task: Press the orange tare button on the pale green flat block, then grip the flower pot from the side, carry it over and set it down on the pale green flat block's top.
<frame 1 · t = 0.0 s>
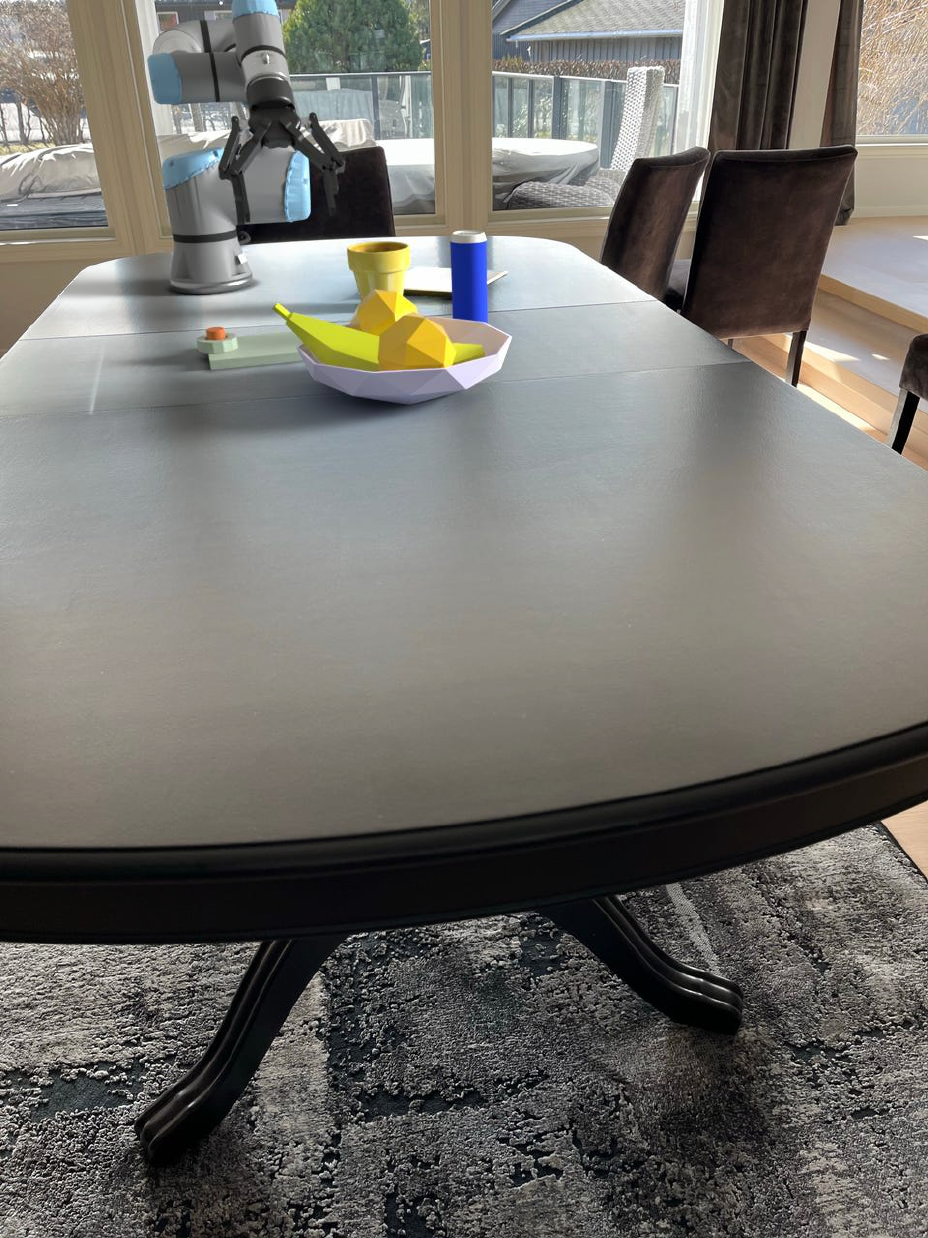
hand: (290, 214, 151), 15 cm above the table, tool tilted 35°, fingers open, 13 cm apart
tare button: (215, 334, 134), point 3 cm above the table, slide at 0.1 cm
beverage can: (470, 341, 140), on the table
pale green flat block: (265, 353, 137), on the table
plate: (443, 290, 171), on the table
flower pot: (382, 307, 161), on the table
fruit bowl: (399, 388, 121), on the table
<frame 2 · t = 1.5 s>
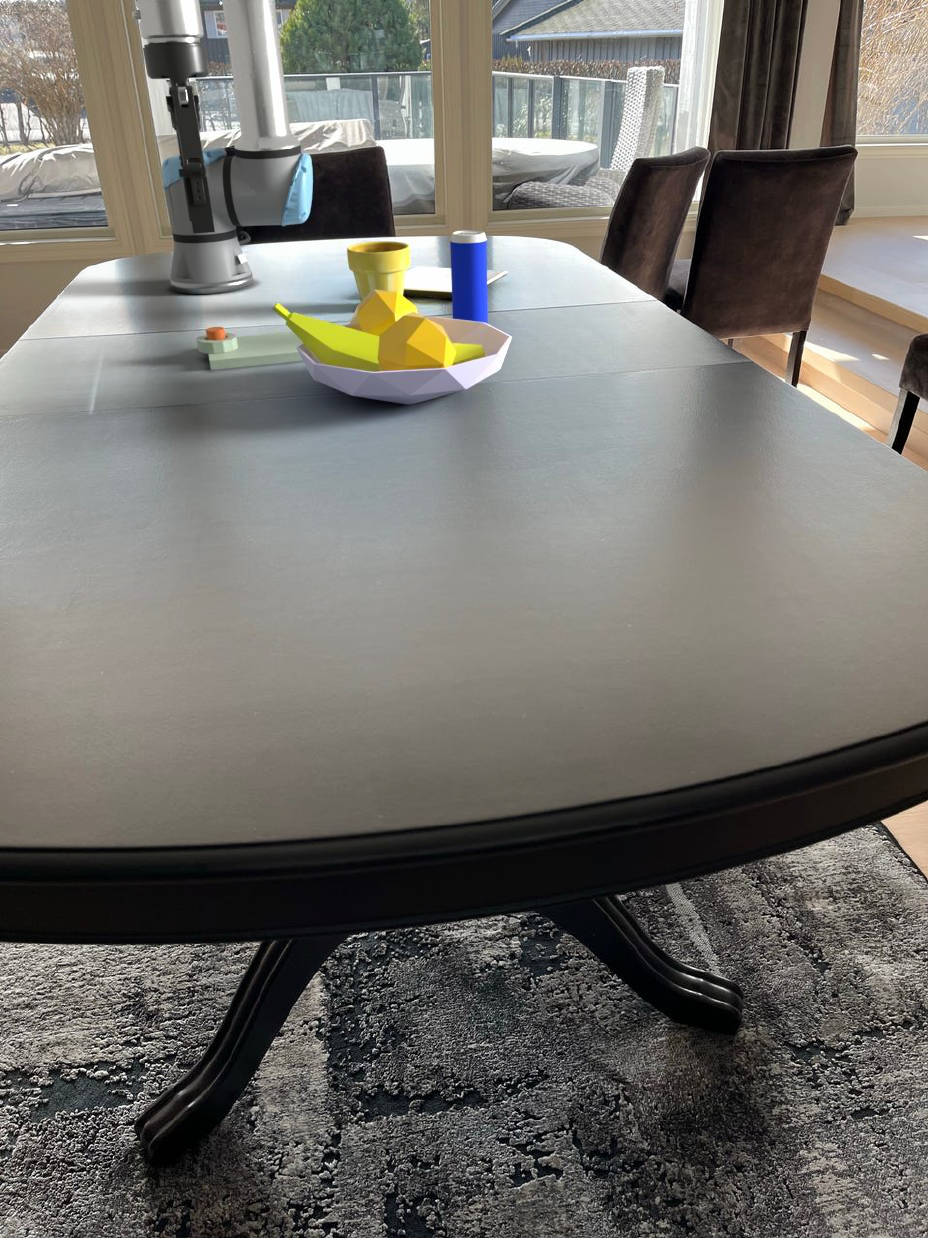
hand: (201, 226, 127), 18 cm above the table, tool pointing down, fingers open, 13 cm apart
nothing on the table moved.
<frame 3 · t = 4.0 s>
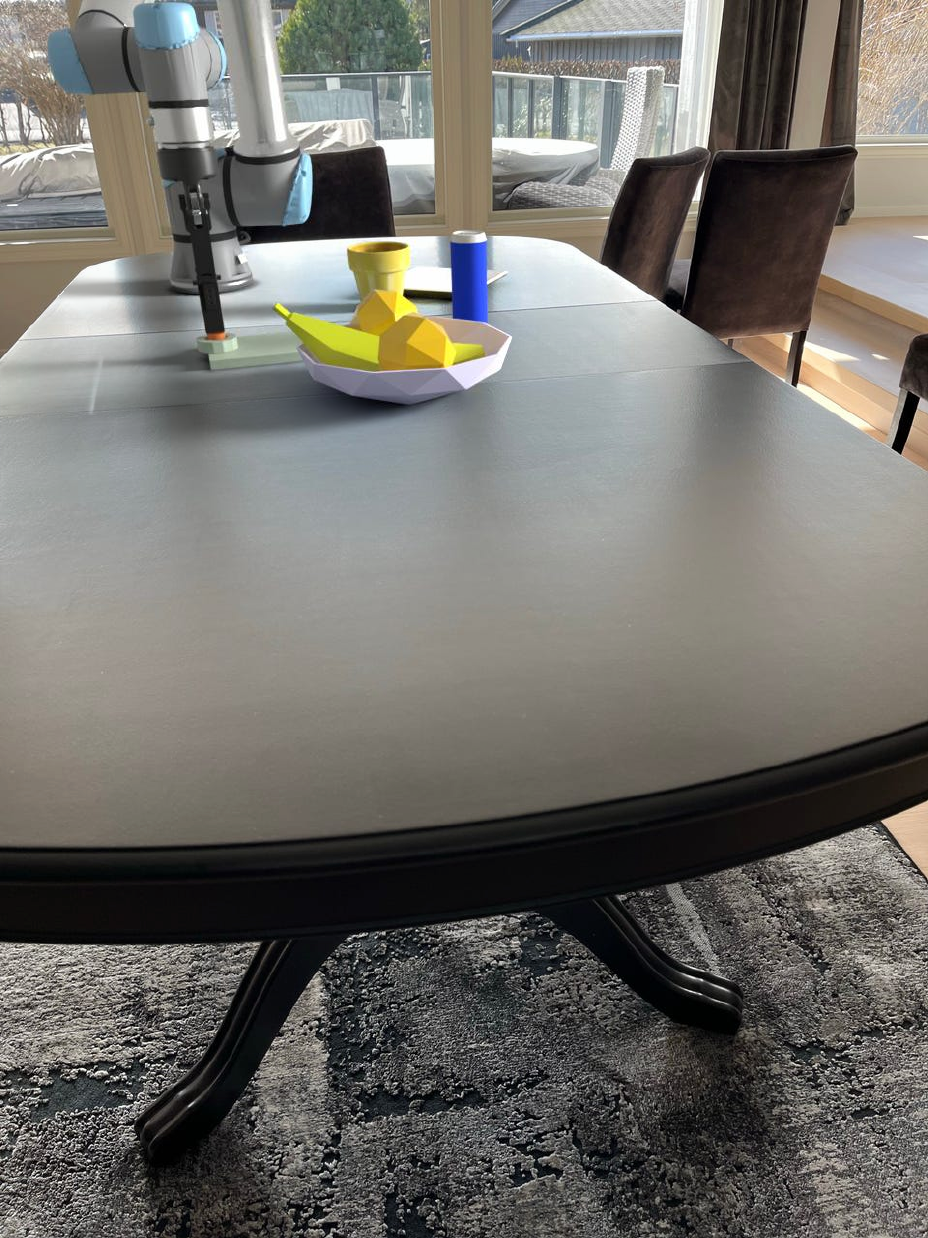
hand: (215, 330, 134), 4 cm above the table, tool pointing down, fingers closed
tare button: (216, 337, 134), point 3 cm above the table, slide at -0.4 cm, touching gripper
everything else where it was.
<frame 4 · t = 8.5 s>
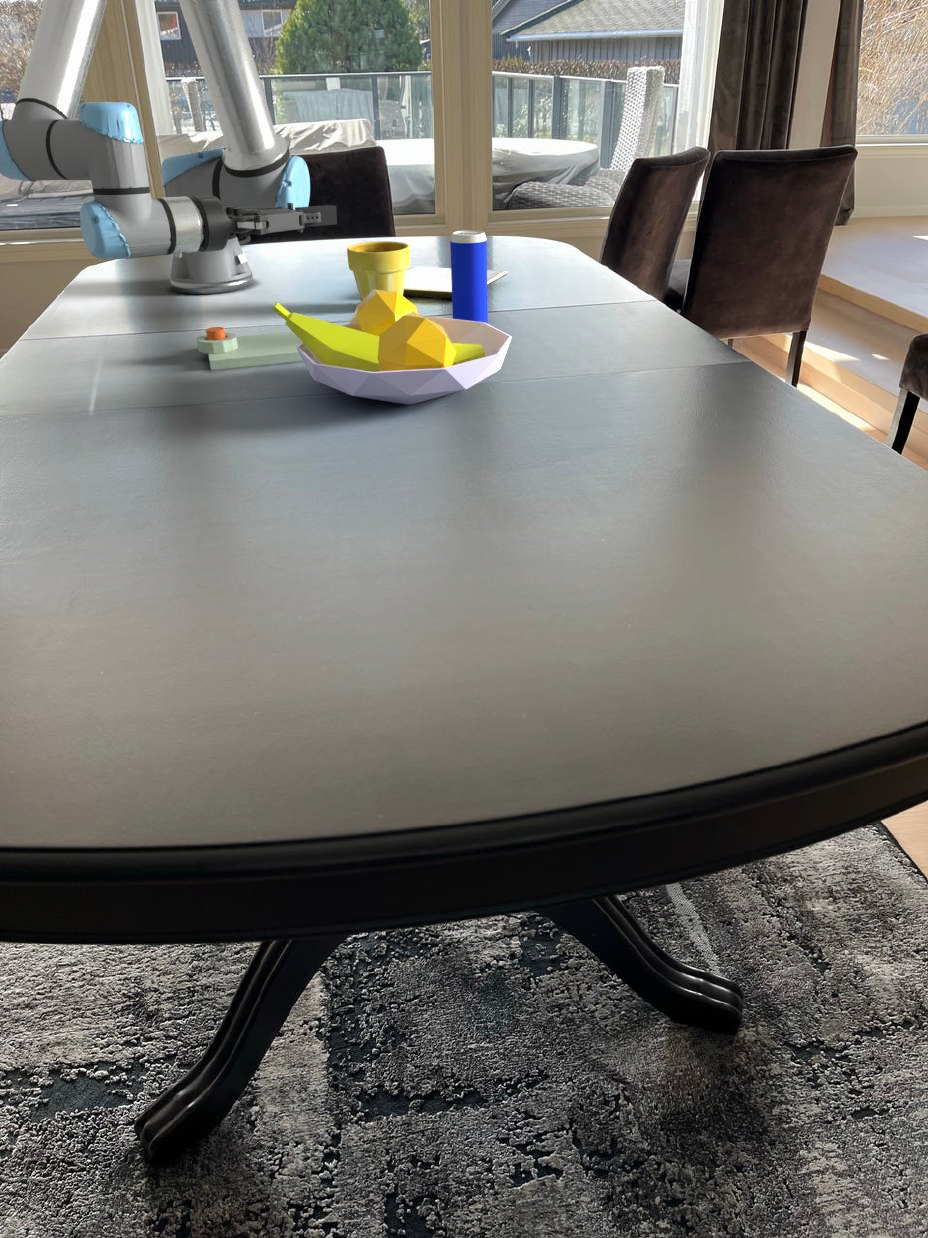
hand: (334, 214, 150), 15 cm above the table, tool horizontal, fingers closed
tare button: (215, 334, 134), point 3 cm above the table, slide at 0.1 cm
everything else where it was.
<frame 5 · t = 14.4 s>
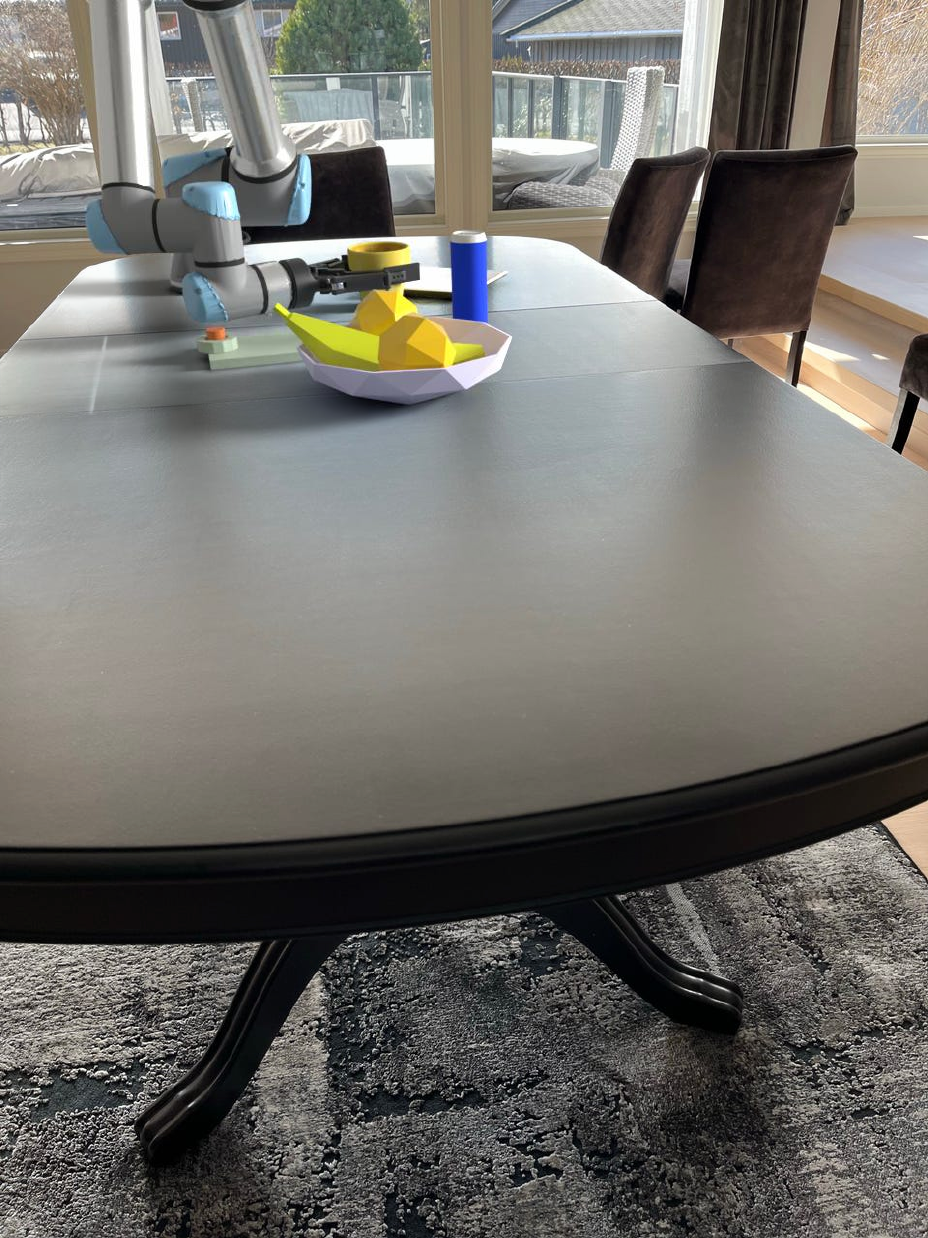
hand: (401, 266, 160), 6 cm above the table, tool horizontal, fingers closed on flower pot, 10 cm apart
flower pot: (382, 307, 161), on the table, touching gripper
everything else where it was.
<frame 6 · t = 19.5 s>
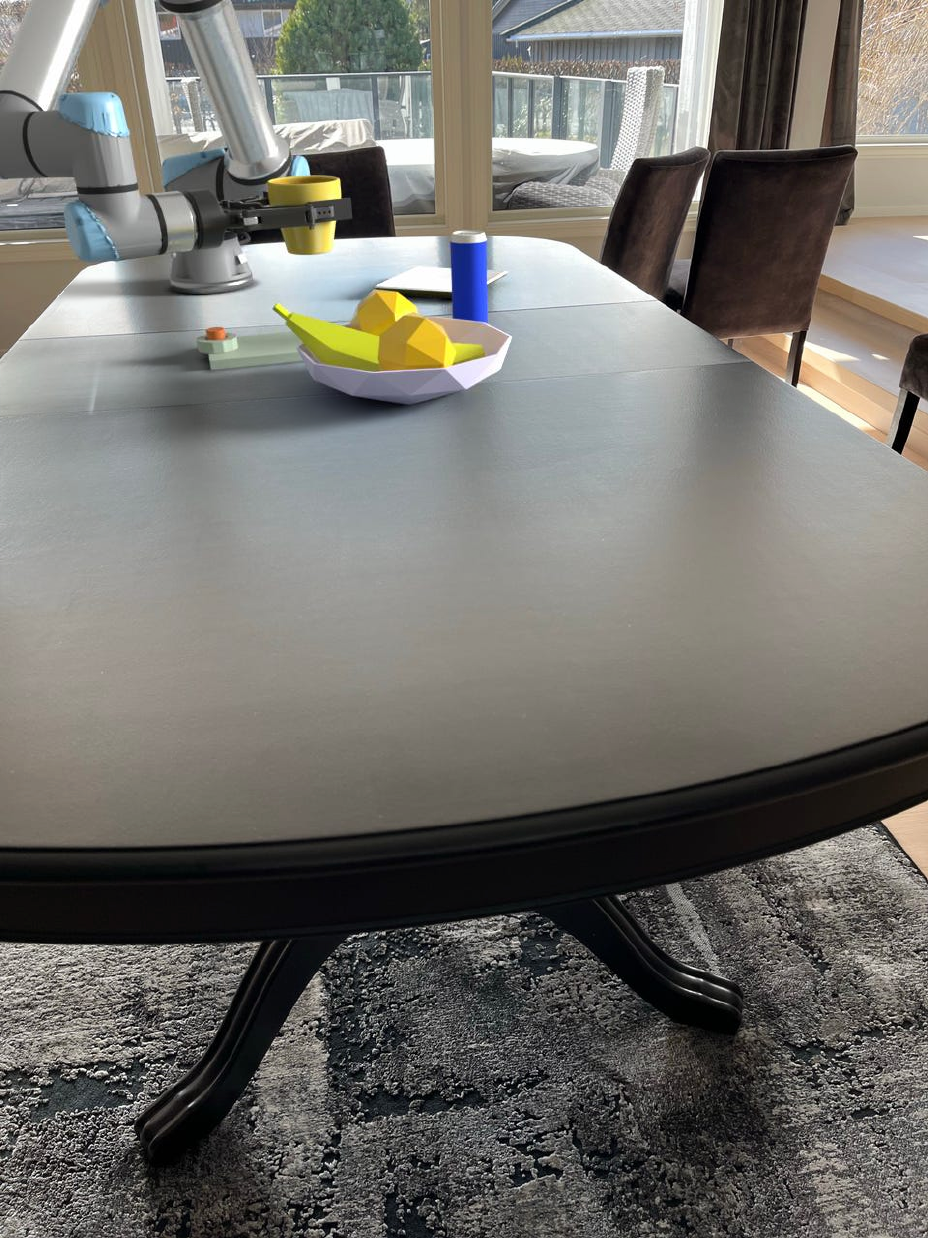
hand: (331, 204, 139), 18 cm above the table, tool horizontal, fingers closed on flower pot, 10 cm apart
flower pot: (310, 252, 140), point 12 cm above the table, touching gripper
everything else where it was.
when the fingers open (7 cm above the table, at t = 24.5 s): flower pot stays where it is, resting on pale green flat block.
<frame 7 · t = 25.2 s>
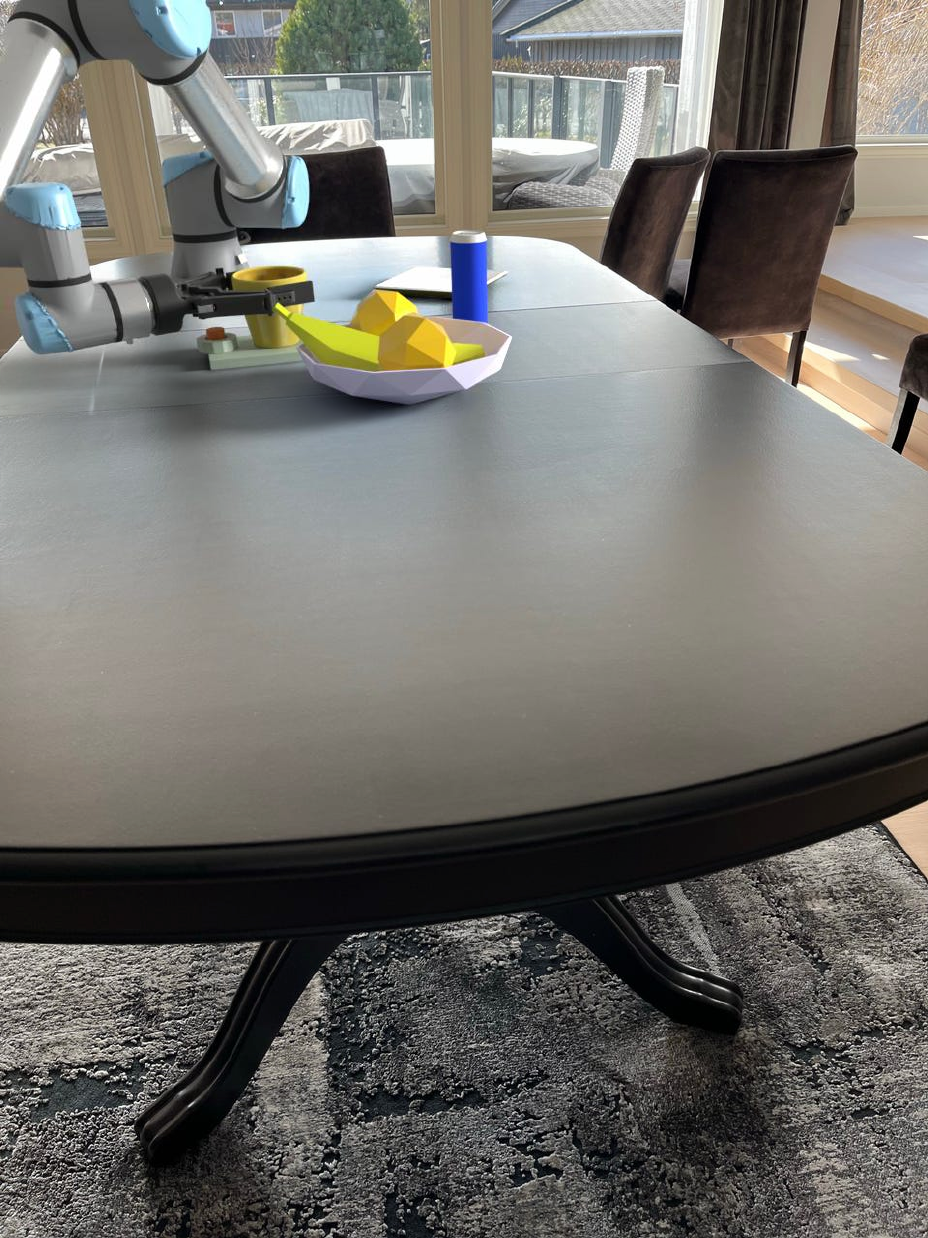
hand: (290, 283, 134), 9 cm above the table, tool horizontal, fingers open, 13 cm apart
flower pot: (277, 344, 137), point 1 cm above the table, touching pale green flat block
everything else where it was.
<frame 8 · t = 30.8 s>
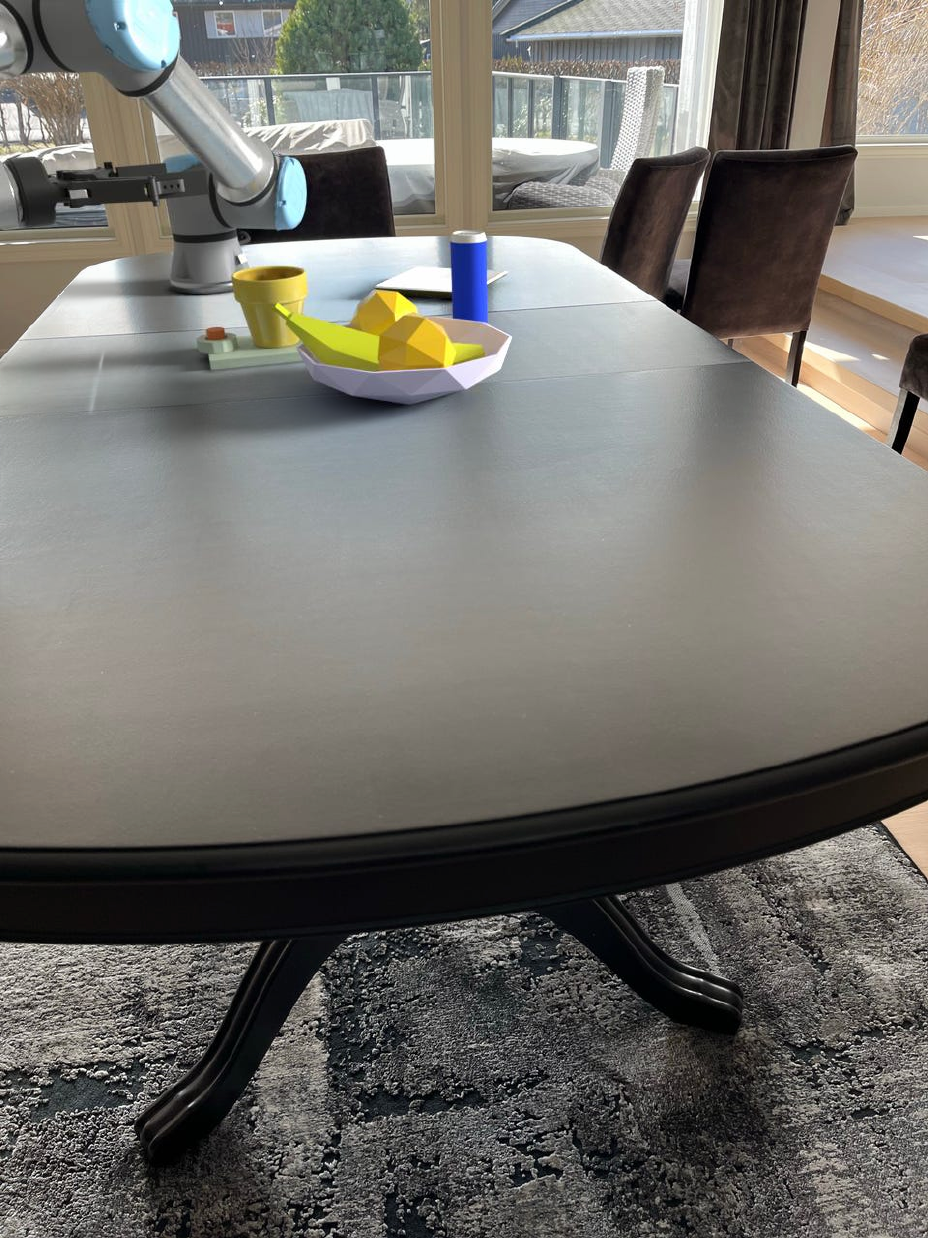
hand: (186, 177, 121), 24 cm above the table, tool horizontal, fingers open, 13 cm apart
nothing on the table moved.
at the end: tare button pushed in 0.9 cm at the most during the clip, back to where it started at the end; flower pot inside the target area on the pale green flat block (0.1 cm from its centre), point 1.2 cm above the pale green flat block's base; flower pot touching pale green flat block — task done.
